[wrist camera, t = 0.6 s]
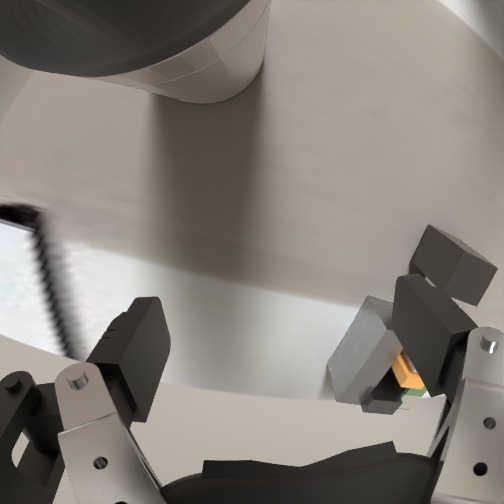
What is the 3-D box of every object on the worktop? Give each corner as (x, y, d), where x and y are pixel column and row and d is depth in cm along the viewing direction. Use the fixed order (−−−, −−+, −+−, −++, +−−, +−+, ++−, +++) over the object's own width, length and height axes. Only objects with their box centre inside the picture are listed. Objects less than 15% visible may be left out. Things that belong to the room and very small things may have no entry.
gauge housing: (367, 295, 30) (390, 336, 24) (436, 316, 31) (463, 353, 25) (327, 363, 34) (338, 409, 27) (394, 376, 35) (411, 415, 29)
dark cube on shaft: (428, 224, 27) (471, 255, 20) (461, 241, 27) (504, 273, 21) (376, 322, 31) (400, 370, 24) (411, 331, 32) (437, 375, 25)
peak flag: (384, 332, 31) (407, 377, 24) (404, 337, 31) (428, 380, 25) (379, 341, 31) (400, 386, 25) (398, 345, 31) (421, 389, 25)
